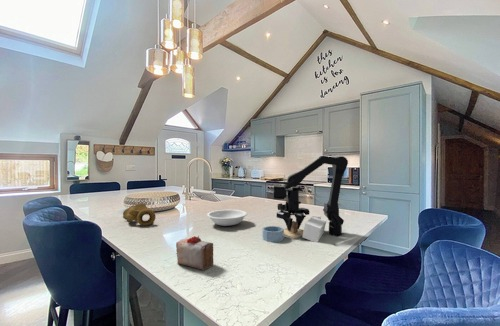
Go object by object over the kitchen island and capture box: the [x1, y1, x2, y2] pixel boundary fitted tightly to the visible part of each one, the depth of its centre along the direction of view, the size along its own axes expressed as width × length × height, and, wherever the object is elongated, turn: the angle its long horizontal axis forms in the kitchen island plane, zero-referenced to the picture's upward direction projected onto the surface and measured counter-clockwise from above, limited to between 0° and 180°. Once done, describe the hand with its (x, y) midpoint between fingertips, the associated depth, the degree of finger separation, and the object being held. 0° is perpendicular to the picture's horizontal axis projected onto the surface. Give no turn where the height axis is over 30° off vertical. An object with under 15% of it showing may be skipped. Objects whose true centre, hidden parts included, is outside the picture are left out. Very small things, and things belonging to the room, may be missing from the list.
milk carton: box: [302, 216, 327, 243], centre depth 111 cm, size 7×7×19 cm
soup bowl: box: [206, 209, 248, 227], centre depth 134 cm, size 24×24×7 cm
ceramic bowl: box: [261, 225, 285, 243], centre depth 107 cm, size 10×10×5 cm
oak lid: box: [283, 220, 304, 239], centre depth 115 cm, size 13×13×6 cm
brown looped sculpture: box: [122, 202, 156, 227], centre depth 141 cm, size 18×13×22 cm
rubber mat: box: [284, 235, 304, 241], centre depth 115 cm, size 16×16×1 cm
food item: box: [175, 235, 214, 271], centre depth 81 cm, size 14×8×10 cm, turn 63°
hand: (293, 229), depth 115 cm, fingers open, 6 cm apart
